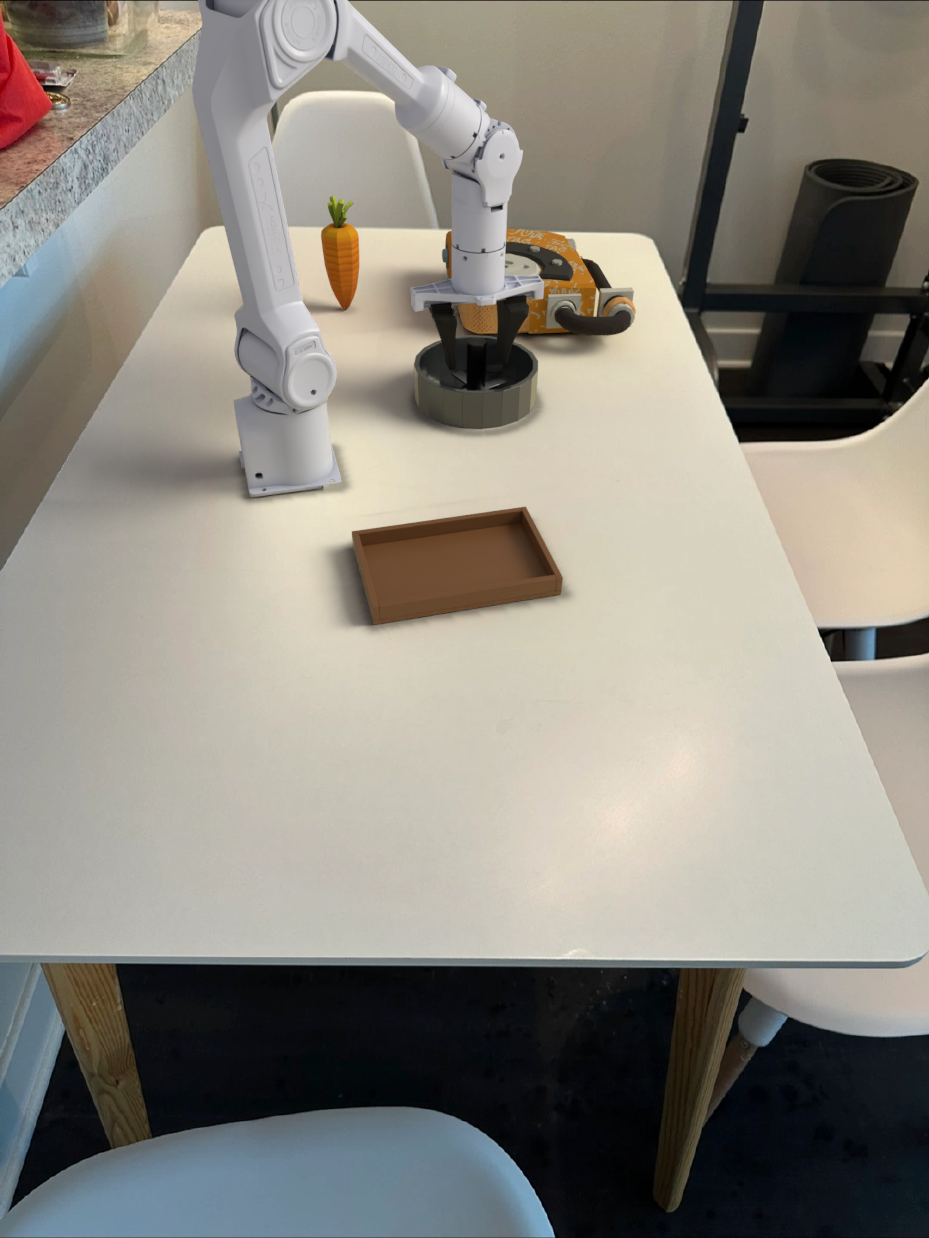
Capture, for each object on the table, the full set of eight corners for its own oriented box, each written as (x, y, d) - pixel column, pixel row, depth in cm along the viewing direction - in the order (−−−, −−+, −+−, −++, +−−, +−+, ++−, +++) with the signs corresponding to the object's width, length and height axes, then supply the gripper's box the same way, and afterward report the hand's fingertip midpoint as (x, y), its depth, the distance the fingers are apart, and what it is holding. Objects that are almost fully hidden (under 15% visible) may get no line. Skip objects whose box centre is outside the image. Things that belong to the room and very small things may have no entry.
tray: (373, 625, 79) (372, 607, 78) (353, 547, 87) (351, 531, 86) (561, 594, 83) (563, 577, 81) (524, 522, 91) (525, 506, 89)
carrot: (330, 301, 129) (320, 189, 119) (365, 302, 129) (358, 190, 119) (325, 316, 125) (314, 202, 115) (361, 317, 125) (353, 203, 115)
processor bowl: (430, 440, 102) (429, 399, 98) (404, 380, 112) (403, 342, 109) (551, 424, 105) (554, 385, 101) (515, 368, 115) (517, 330, 111)
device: (593, 212, 133) (649, 295, 111) (588, 268, 139) (640, 359, 117) (439, 216, 131) (465, 303, 109) (440, 274, 136) (464, 367, 114)
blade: (450, 418, 104) (450, 361, 100) (435, 385, 110) (434, 329, 105) (517, 410, 106) (520, 353, 101) (498, 377, 111) (500, 323, 107)
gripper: (419, 263, 92) (422, 386, 101) (556, 251, 94) (547, 372, 103) (405, 238, 97) (409, 358, 106) (535, 227, 99) (528, 345, 108)
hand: (476, 363), depth 105 cm, fingers open, 5 cm apart
